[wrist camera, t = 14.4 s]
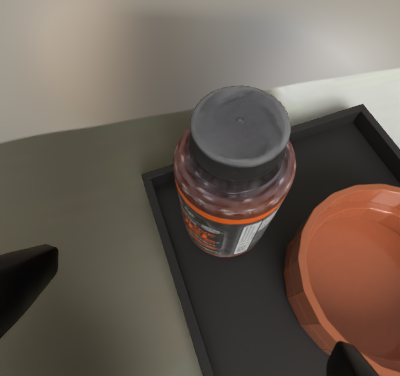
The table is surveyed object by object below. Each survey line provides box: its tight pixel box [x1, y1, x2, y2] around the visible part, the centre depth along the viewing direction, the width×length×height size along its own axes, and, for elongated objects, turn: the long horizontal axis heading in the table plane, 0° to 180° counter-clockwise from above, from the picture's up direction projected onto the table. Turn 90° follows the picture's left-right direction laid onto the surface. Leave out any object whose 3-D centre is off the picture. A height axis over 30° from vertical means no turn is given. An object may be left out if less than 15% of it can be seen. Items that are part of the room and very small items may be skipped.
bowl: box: [283, 184, 400, 376], centre depth 18 cm, size 11×11×4 cm
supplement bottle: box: [173, 86, 296, 257], centre depth 16 cm, size 6×6×11 cm
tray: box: [142, 104, 400, 376], centre depth 19 cm, size 19×19×2 cm
